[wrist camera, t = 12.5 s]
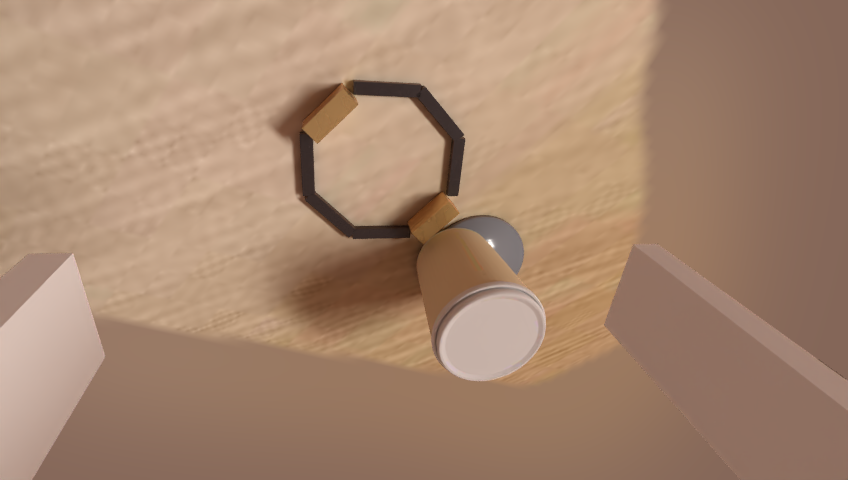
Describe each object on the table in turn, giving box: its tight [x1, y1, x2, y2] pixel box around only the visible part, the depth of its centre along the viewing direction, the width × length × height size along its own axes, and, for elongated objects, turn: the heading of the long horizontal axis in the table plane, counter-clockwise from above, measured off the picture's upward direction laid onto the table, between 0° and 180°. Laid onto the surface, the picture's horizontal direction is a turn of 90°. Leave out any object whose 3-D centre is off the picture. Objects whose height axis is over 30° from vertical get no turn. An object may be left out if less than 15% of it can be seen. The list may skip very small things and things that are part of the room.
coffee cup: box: [417, 228, 546, 381], centre depth 39 cm, size 9×9×12 cm
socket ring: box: [300, 80, 465, 244], centre depth 38 cm, size 14×14×2 cm
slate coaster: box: [448, 215, 524, 275], centre depth 45 cm, size 10×10×1 cm
